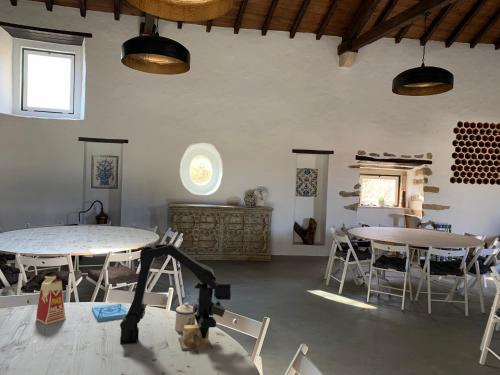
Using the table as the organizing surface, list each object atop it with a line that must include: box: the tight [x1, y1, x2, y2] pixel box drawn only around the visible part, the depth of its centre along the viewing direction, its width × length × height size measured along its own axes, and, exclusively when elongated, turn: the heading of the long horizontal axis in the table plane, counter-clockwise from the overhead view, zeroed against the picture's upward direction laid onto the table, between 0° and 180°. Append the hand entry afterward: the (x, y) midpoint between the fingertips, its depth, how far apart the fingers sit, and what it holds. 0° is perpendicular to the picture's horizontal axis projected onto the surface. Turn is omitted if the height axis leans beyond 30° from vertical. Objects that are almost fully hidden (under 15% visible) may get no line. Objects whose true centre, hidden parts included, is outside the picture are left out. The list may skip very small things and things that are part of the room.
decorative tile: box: [91, 303, 128, 322], centre depth 184 cm, size 14×14×2 cm
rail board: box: [178, 334, 213, 351], centre depth 159 cm, size 12×10×4 cm
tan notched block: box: [182, 324, 210, 344], centre depth 159 cm, size 10×3×6 cm, turn 108°
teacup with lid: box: [174, 302, 197, 333], centre depth 174 cm, size 12×9×12 cm
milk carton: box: [35, 275, 66, 325], centre depth 173 cm, size 9×9×20 cm
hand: (202, 335), depth 160 cm, fingers open, 4 cm apart
